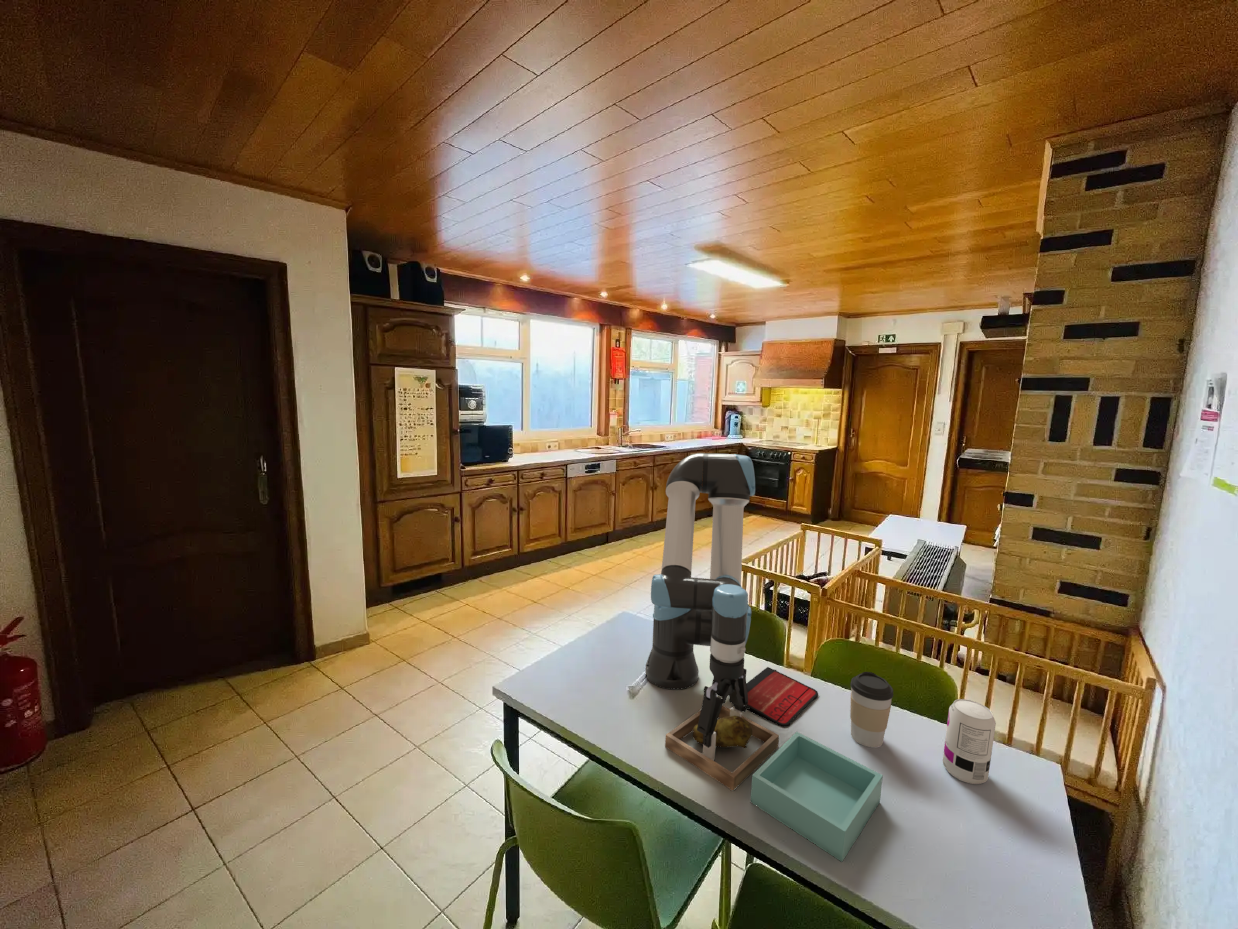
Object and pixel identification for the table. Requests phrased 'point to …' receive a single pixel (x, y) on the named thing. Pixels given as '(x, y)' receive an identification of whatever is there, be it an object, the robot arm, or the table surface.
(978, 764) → the supplement can
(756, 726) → the frame
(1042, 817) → the table surface
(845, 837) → the tub
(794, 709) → the binder
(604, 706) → the table surface
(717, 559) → the robot arm
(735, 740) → the potato
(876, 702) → the coffee cup
